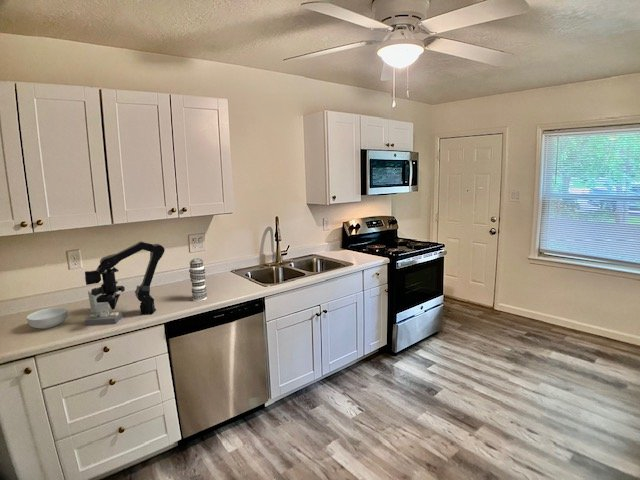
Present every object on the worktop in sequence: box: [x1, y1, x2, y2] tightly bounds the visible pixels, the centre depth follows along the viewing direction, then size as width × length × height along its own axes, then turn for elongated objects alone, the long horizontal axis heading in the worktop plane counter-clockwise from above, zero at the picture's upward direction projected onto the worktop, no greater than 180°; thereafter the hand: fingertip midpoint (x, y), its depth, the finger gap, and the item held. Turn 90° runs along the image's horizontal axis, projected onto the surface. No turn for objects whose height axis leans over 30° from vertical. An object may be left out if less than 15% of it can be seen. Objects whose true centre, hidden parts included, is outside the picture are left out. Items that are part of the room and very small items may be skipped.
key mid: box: [100, 310, 110, 317], centre depth 189 cm, size 3×3×3 cm
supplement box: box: [87, 289, 111, 314], centre depth 203 cm, size 7×7×13 cm
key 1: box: [89, 313, 99, 318], centre depth 189 cm, size 3×3×3 cm
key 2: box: [110, 311, 119, 316], centre depth 190 cm, size 3×3×3 cm
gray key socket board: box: [84, 310, 125, 327], centre depth 190 cm, size 15×10×3 cm, turn 96°
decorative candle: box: [188, 257, 208, 302], centre depth 217 cm, size 9×9×25 cm
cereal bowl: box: [26, 306, 69, 330], centre depth 185 cm, size 17×17×7 cm
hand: (113, 309), depth 189 cm, fingers closed
